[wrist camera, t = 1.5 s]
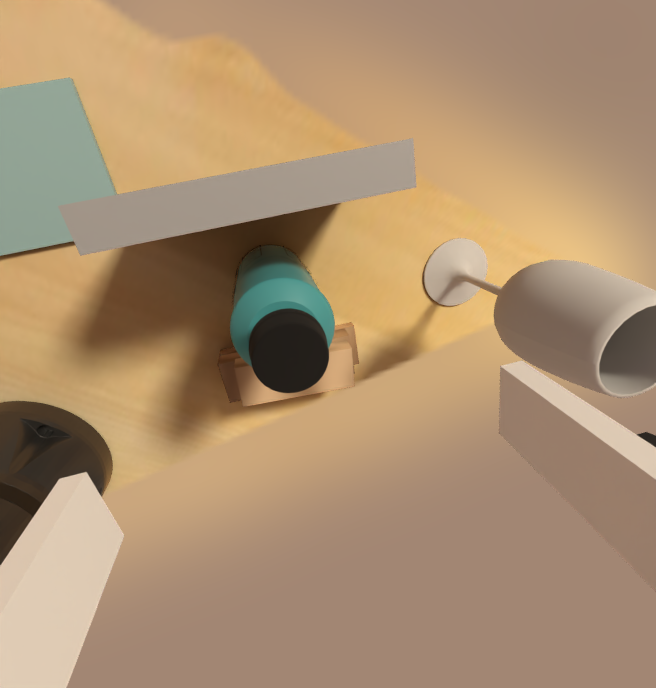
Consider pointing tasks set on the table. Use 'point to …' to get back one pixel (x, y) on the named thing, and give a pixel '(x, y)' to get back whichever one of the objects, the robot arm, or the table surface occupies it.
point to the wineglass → (560, 316)
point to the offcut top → (333, 379)
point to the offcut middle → (228, 360)
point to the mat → (45, 163)
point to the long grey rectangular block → (239, 197)
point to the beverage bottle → (281, 320)
